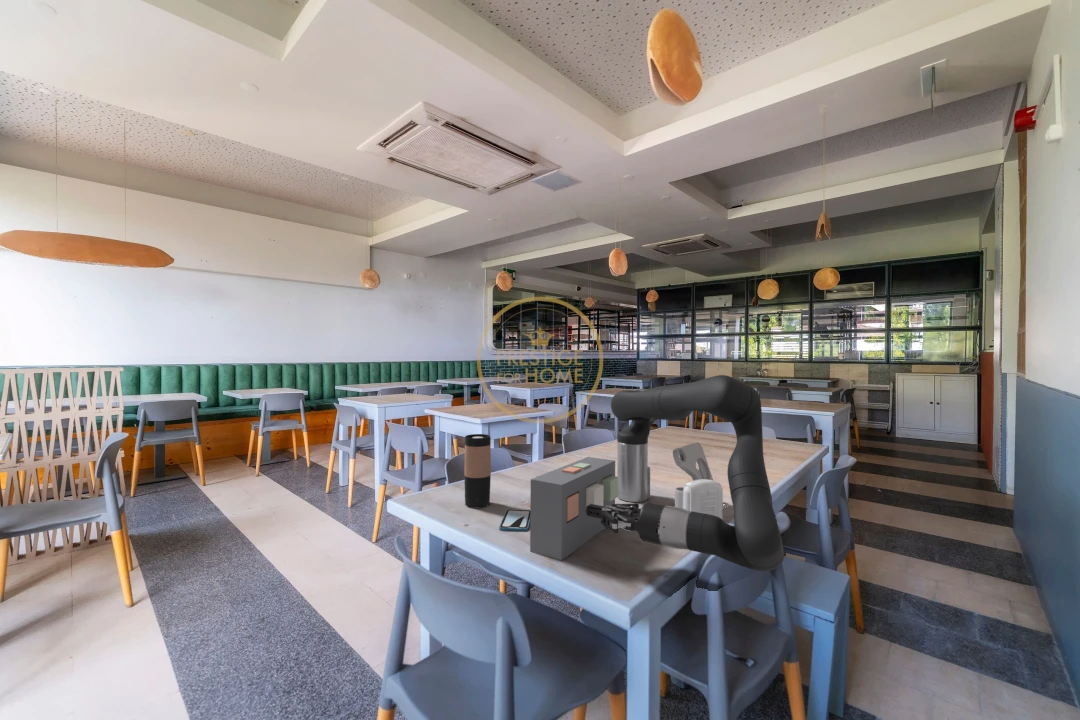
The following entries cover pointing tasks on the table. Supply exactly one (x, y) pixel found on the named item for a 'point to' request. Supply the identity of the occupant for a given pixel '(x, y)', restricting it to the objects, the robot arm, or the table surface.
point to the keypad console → (565, 507)
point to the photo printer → (703, 497)
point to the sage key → (610, 487)
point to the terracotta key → (572, 506)
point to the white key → (595, 494)
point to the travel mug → (477, 470)
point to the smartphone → (515, 520)
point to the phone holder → (691, 467)
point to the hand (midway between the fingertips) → (587, 509)
